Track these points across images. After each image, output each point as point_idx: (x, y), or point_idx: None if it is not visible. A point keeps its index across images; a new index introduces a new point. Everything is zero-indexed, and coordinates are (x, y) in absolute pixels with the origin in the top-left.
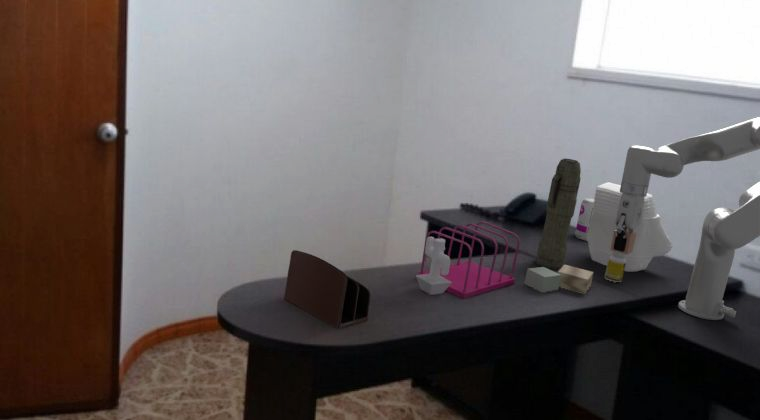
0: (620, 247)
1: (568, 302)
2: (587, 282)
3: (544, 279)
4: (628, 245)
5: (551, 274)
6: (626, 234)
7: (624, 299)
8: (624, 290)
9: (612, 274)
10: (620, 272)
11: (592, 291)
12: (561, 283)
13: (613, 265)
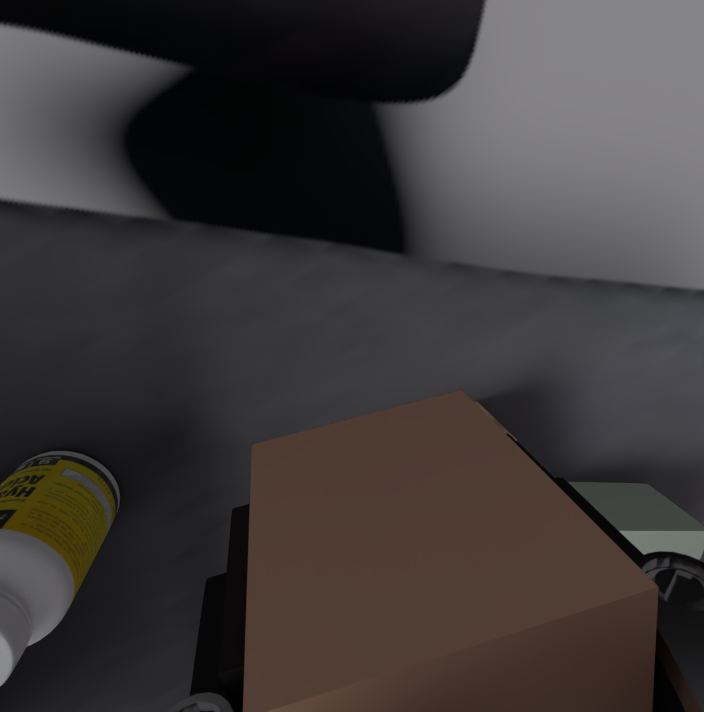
0: (564, 486)
1: (655, 362)
2: (503, 431)
3: (699, 522)
4: (521, 453)
5: (643, 548)
6: (692, 632)
7: (312, 264)
8: (157, 357)
9: (100, 504)
10: (51, 489)
11: None
12: None
13: (81, 551)
